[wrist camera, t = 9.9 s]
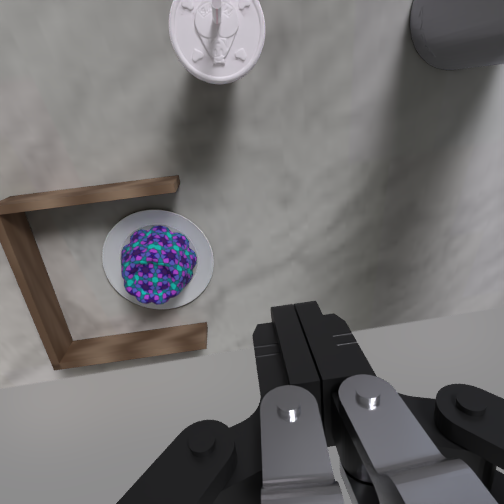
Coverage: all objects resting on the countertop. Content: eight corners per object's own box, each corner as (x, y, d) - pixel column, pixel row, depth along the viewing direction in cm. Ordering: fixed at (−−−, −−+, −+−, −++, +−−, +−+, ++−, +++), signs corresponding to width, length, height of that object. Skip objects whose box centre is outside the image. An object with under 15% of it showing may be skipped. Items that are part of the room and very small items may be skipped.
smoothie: (252, 6, 31) (275, -60, 18) (254, 87, 34) (276, 79, 21) (178, 7, 31) (148, -60, 18) (185, 89, 33) (164, 82, 20)
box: (178, 175, 36) (173, 183, 33) (207, 327, 44) (206, 348, 40) (10, 196, 36) (-14, 207, 32) (68, 347, 43) (54, 370, 39)
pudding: (218, 213, 39) (218, 229, 34) (209, 309, 43) (208, 335, 38) (101, 202, 37) (84, 217, 32) (105, 302, 42) (90, 329, 37)
